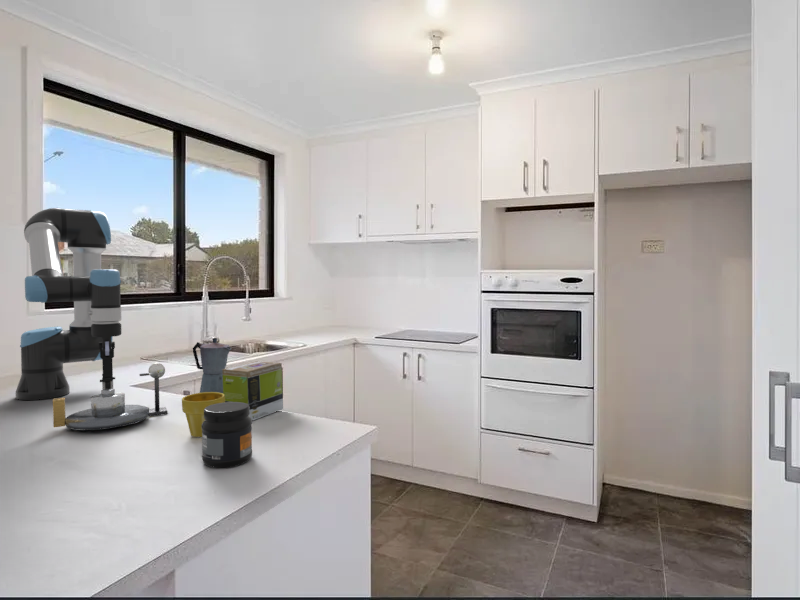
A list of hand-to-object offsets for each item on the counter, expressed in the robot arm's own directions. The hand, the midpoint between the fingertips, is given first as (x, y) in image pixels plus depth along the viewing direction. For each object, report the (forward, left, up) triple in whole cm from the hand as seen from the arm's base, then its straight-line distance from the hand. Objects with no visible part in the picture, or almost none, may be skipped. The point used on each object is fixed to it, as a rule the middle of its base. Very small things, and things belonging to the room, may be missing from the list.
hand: (108, 402), depth 143 cm
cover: (+8, 0, -1) cm, 8 cm away
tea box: (+20, +37, -4) cm, 42 cm away
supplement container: (+55, +22, -4) cm, 59 cm away
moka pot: (-12, +31, -4) cm, 34 cm away
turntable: (+9, -1, -3) cm, 9 cm away
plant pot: (+32, +21, -4) cm, 38 cm away
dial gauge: (+4, +11, -4) cm, 13 cm away
